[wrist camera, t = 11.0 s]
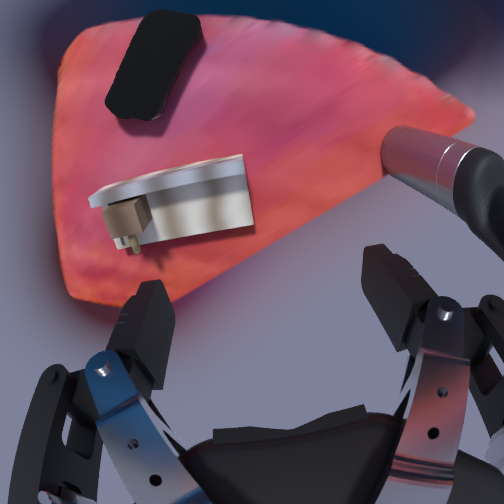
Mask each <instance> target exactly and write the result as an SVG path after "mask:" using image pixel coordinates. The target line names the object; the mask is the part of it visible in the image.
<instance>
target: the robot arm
mask: <svg viewBox="0 0 504 504" xmlns="http://www.w3.org/2000/svg"><path fill="white" fill-rule="evenodd" d="M381 159H382V163H383V166H384V167H385V169H386V171H387V172H388V173H389V174H390V175H391V176H392V177H394V178H396V179H398V180H400V181H401V182H403V183H405V184H407V185H408V186H410V187H412V188H413V189H415V190H417V191H419V192H420V193H422V194H423V195H425V196H427V197H428V198H430V199H432V200H433V201H435V202H436V203H438V204H440V205H441V206H443V207H444V208H446V209H447V210H449V211H450V212H452V213H453V214H455V215H456V216H458V217H459V218H461V219H462V220H463V221H465V222H466V223H467V225H468V227H469V228H470V230H471V231H472V232H473V233H474V234H475V235H476V236H477V237H478V238H479V239H481V240H482V241H483V242H484V243H485V244H486V245H487V246H488V247H489V248H490V249H491V250H493V251H494V252H495V253H496V254H497V255H498V256H499V257H500V258H501V259H502V260H503V261H504V160H503V158H502V157H501V156H500V155H498V154H497V153H495V152H493V151H491V150H488V149H485V148H482V147H479V146H476V145H474V144H470V143H467V142H464V141H461V140H458V139H454V138H451V137H448V136H444V135H440V134H437V133H433V132H429V131H425V130H421V129H417V128H413V127H408V126H398V127H395V128H393V129H392V130H390V131H389V132H388V133H387V135H386V136H385V138H384V140H383V143H382V147H381ZM361 284H362V289H363V292H364V294H365V296H366V298H367V299H368V301H369V303H370V304H371V306H372V308H373V310H374V311H375V313H376V315H377V317H378V318H379V320H380V322H381V324H382V325H383V327H384V329H385V331H386V333H387V334H388V336H389V338H390V340H391V342H392V344H393V346H394V347H395V349H396V351H397V352H399V351H402V350H405V349H408V351H409V353H410V354H409V356H408V359H407V363H406V367H405V371H404V374H403V378H402V382H401V385H400V388H399V392H398V395H397V398H396V401H395V403H394V405H393V407H392V410H391V412H390V414H384V413H374V412H373V413H372V412H368V413H367V412H366V409H365V406H364V404H362V405H358V406H355V407H352V408H348V409H344V410H340V411H336V412H332V413H328V414H326V415H324V416H322V417H320V418H317V419H315V420H313V421H311V422H309V423H307V424H304V425H302V426H299V427H297V428H295V429H290V430H284V429H270V428H260V427H251V426H249V427H238V428H224V429H213V438H212V439H208V440H206V441H203V442H201V443H199V444H197V445H195V446H193V447H191V448H190V449H189V448H188V447H187V446H186V445H185V444H184V442H183V441H182V440H181V439H180V438H179V437H178V436H177V434H176V433H175V432H174V430H173V429H172V428H171V426H170V425H169V423H168V422H167V420H166V419H165V417H164V416H163V415H162V413H161V412H160V410H159V409H158V407H157V406H156V404H155V403H154V401H153V400H152V398H151V392H152V390H163V385H164V379H165V373H166V368H167V363H168V357H169V352H170V346H171V342H172V336H173V332H174V327H175V313H174V309H173V307H172V304H171V302H170V299H169V297H168V295H167V292H166V290H165V287H164V285H163V283H162V281H161V280H160V279H158V280H151V281H145V282H142V283H141V284H140V286H139V289H138V291H137V293H136V295H134V296H132V297H131V298H130V299H129V300H128V301H127V302H126V303H125V304H124V306H123V308H122V311H121V313H120V316H119V318H118V320H117V324H116V325H115V327H114V330H113V332H112V335H111V337H110V340H109V342H108V345H107V347H106V350H104V351H101V352H98V353H97V354H95V355H94V356H93V357H91V358H90V359H89V361H88V362H87V364H86V367H85V369H82V370H79V371H75V372H72V373H69V372H68V371H67V369H66V368H65V367H64V366H63V365H61V364H54V365H51V366H50V367H48V368H47V369H46V370H45V371H44V372H43V373H42V375H41V377H40V379H39V382H38V384H37V387H36V389H35V392H34V395H33V398H32V401H31V403H30V406H29V409H28V412H27V415H26V419H25V422H24V425H23V429H22V432H21V436H20V439H19V443H18V447H17V452H16V456H15V460H14V465H13V470H12V476H11V482H10V488H9V496H8V504H97V490H98V478H99V470H100V461H101V453H102V446H103V443H104V445H105V447H106V449H107V451H108V454H109V455H110V458H111V460H112V462H113V464H114V466H115V468H116V469H117V471H118V473H119V475H120V477H121V479H122V480H123V482H124V484H125V486H126V488H127V489H128V491H129V493H130V494H131V496H132V497H133V499H134V501H135V503H134V504H504V376H503V377H502V375H501V373H500V371H499V369H498V368H497V366H496V364H495V362H494V361H493V359H492V357H491V356H490V354H489V352H490V350H491V349H492V347H493V346H494V348H495V349H496V351H497V353H498V354H499V356H500V357H501V359H502V361H503V363H504V300H503V299H501V298H500V297H498V296H495V295H485V296H483V297H482V299H481V301H480V303H479V306H478V307H471V308H462V307H461V305H460V304H459V303H458V302H457V301H456V300H454V299H452V298H450V297H447V296H438V295H437V294H436V293H435V292H434V290H433V289H432V288H431V287H430V286H429V284H428V283H427V282H426V281H425V280H424V279H423V277H422V276H421V275H419V273H418V272H417V271H416V270H415V269H413V266H412V265H411V264H410V263H409V262H408V261H407V260H406V259H405V258H403V257H401V256H399V255H398V254H393V253H392V252H391V251H390V250H389V249H388V248H387V247H386V246H385V245H384V244H377V245H372V246H367V247H365V248H364V252H363V264H362V276H361ZM468 388H469V389H470V392H471V394H472V396H473V398H474V400H475V402H476V405H477V407H478V409H479V411H480V414H481V416H482V418H483V421H484V423H485V426H486V428H487V431H488V433H489V436H490V439H491V440H490V443H489V448H488V449H487V451H486V454H485V458H486V460H487V461H490V464H489V463H487V462H484V461H482V460H480V459H478V458H476V457H474V456H472V455H469V454H467V453H465V452H463V451H461V450H459V449H458V447H459V442H460V438H461V433H462V428H463V423H464V417H465V411H466V405H467V397H468ZM66 415H68V416H69V417H70V418H71V419H72V422H71V426H70V430H69V435H68V439H67V444H66V446H65V445H64V444H63V441H62V431H63V427H64V423H65V419H66Z"/></svg>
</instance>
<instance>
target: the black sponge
mask: <svg viewBox="0 0 504 504" xmlns="http://www.w3.org/2000/svg"><path fill="white" fill-rule="evenodd" d="M201 36H202V28H201V23H200V20H199V18H198V17H197V16H195V15H192V14H184V13H179V12H175V11H171V10H154V11H152V12H150V13H149V14H148V15H146V16H145V17H144V18H143V20H142V21H141V23H140V24H139V26H138V28H137V30H136V33H135V35H134V36H133V38H132V40H131V43H130V45H129V47H128V49H127V51H126V54H125V56H124V58H123V61H122V62H121V65H120V67H119V70H118V71H117V73H116V76H115V79H114V82H113V84H112V86H111V88H110V90H109V92H108V94H107V96H106V98H105V105H106V107H107V108H108V109H109V110H110V111H111V112H112V113H113V114H114V115H115V116H117V117H119V118H123V119H129V118H136V119H140V120H144V121H149V120H152V119H156V118H158V117H160V116H161V115H162V113H163V111H164V106H165V103H166V100H167V98H168V95H169V93H170V90H171V89H172V86H173V84H174V82H175V80H176V78H177V76H178V73H179V71H180V69H181V68H182V66H183V64H184V62H185V61H186V58H187V56H188V54H189V52H190V50H191V48H192V47H193V46H194V45H195V44H196V43H197V42H198V41H199V40H200V38H201Z"/></svg>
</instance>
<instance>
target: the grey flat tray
mask: <svg viewBox="0 0 504 504" xmlns="http://www.w3.org/2000/svg"><path fill="white" fill-rule="evenodd" d="M142 194H146V197H147V201H148V204H149V207H150V211H151V214H152V217H153V218H152V219H151V221H150V222H149V224H148V225H147V227H146V229H145V230H144V232H143V233H139V234H136V237H137V239H138V242H139V245H142V244H147V243H153V242H158V241H163V240H169V239H174V238H179V237H185V236H190V235H196V234H202V233H207V232H213V231H219V230H225V229H231V228H237V227H243V226H249V225H254V222H253V216H252V210H251V204H250V198H249V192H248V186H247V180H246V173H245V167H244V161H243V155H242V154H239V155H233V156H227V157H222V158H216V159H211V160H206V161H201V162H196V163H192V164H187V165H182V166H178V167H174V168H169V169H165V170H161V171H157V172H153V173H149V174H145V175H142V176H138V177H134V178H131V179H127V180H124V181H120V182H117V183H114V184H110V185H107V186H104V187H102V188H101V189H100V190H98V191H97V192H96V193H94V194H93V195H91V196H90V197H89V198H88V199H89V202H90V205H91V208H94V207H98V206H101V205H102V208H103V211H104V210H105V209H106V208H107V207H108V206H110V205H111V204H112V203H113V202H116V201H119V200H123V199H127V198H130V197H134V196H138V195H142ZM114 241H115V244H116V247H117V249H122V248H127V247H131V244H130V242H129V239H128V236H125V237H120V238H115V239H114Z"/></svg>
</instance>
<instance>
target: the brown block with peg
mask: <svg viewBox="0 0 504 504" xmlns="http://www.w3.org/2000/svg"><path fill="white" fill-rule="evenodd" d="M102 215H103V218H104V221H105V224H106V226H107V229H108V232H109V234H110V237H111V239H115V238H120V237H125V236H128V239H129V242H130V244H131V247H132V250H133V252H134V253H135V254H139V253H140V252H141V248H140V245H139V242H138V239H137V237H136V234H139V233H143V232H144V230H145V229H146V227H147V225H148V224H149V222H150V221H151V219H152V218H153V217H152V214H151V211H150V207H149V204H148V201H147V197H146V194H142V195H138V196H134V197H130V198H127V199H123V200H119V201H116V202H113V203H112V204H111V205H110V206H108V207H107V208H106V209H105V210H104V211H103V212H102Z"/></svg>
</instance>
